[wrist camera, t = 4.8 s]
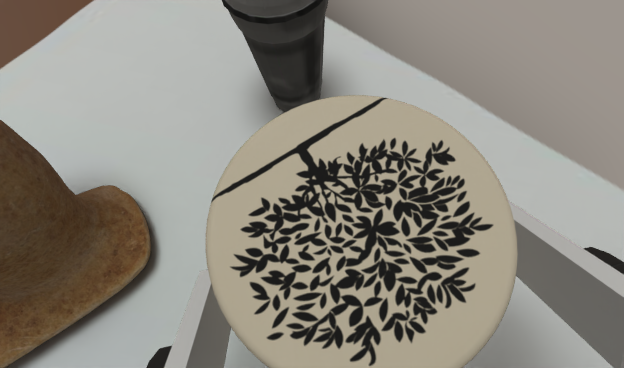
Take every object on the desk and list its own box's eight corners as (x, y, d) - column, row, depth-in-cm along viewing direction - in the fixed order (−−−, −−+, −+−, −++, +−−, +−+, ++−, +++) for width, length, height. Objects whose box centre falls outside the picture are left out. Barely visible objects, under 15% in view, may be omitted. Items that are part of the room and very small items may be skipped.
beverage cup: (310, 53, 33) (272, -280, 15) (349, 102, 30) (365, -226, 12) (247, 86, 32) (121, -224, 14) (282, 140, 30) (185, -153, 11)
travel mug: (419, 314, 23) (618, 311, 7) (318, 363, 23) (256, 496, 6) (368, 216, 26) (416, 46, 10) (277, 257, 26) (159, 151, 9)
